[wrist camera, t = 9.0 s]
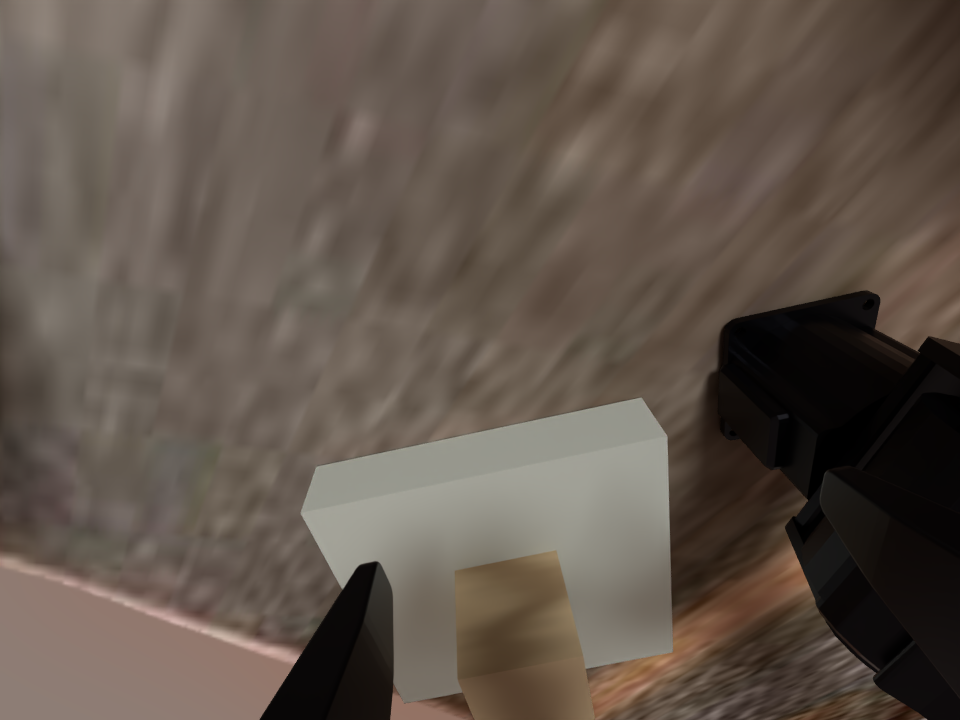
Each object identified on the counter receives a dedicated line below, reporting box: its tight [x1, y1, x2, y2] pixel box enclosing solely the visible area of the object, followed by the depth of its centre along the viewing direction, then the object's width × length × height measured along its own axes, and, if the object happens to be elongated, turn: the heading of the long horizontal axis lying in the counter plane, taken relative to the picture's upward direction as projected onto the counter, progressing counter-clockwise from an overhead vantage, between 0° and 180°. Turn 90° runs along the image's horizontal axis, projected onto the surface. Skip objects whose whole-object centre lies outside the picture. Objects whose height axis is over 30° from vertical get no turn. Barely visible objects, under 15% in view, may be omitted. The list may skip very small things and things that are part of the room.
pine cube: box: [455, 550, 595, 720], centre depth 22 cm, size 5×5×5 cm
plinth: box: [301, 398, 673, 703], centre depth 26 cm, size 16×16×3 cm
